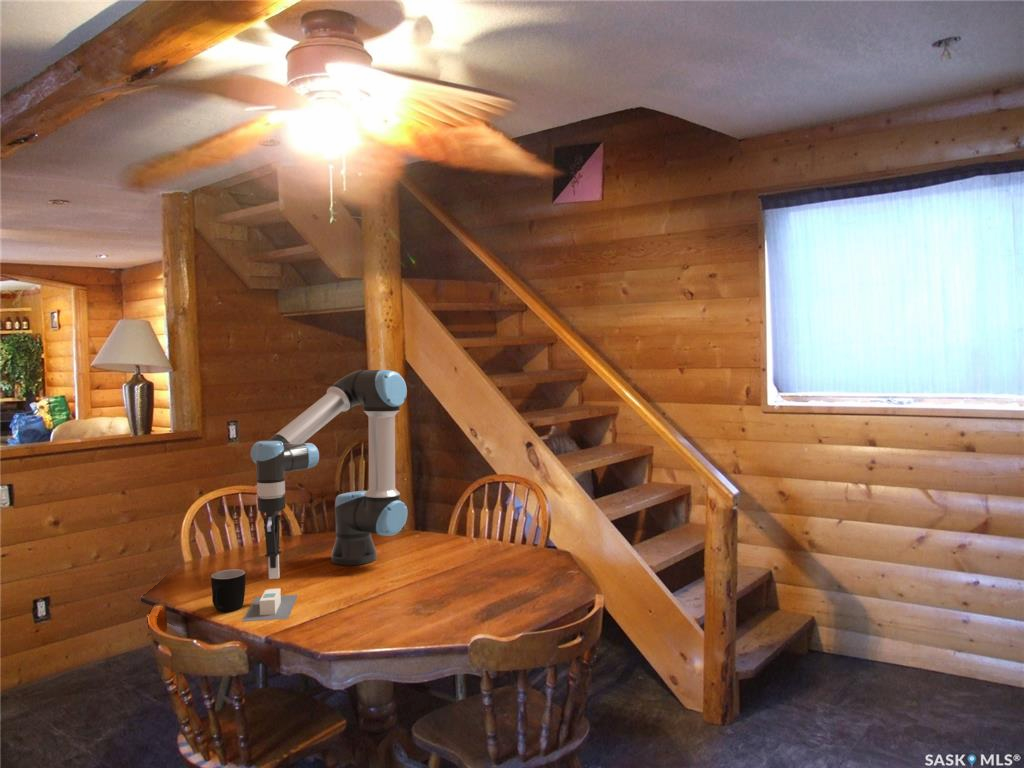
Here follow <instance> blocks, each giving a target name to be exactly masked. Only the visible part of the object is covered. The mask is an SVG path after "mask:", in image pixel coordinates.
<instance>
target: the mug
mask: <svg viewBox="0 0 1024 768" xmlns="http://www.w3.org/2000/svg"><path fill="white" fill-rule="evenodd" d="M210 581H211V582H210V584H211V594H212V595H211V596H212V597H211V598H212V599H211V600H212V602H211V603H212V604H213V606H214V607H215V610H216V611H217V612H218V613H232V612H233V613H234V612H237V611H239V610H241V609H242V608H243V606H244V601H245V594H246V571H245V570H243V569H239V568H238V569H237V568H235V569H224V570H220V571H216V572H214V573H212V574H211V575H210Z"/></svg>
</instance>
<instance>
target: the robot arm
mask: <svg viewBox="0 0 1024 768" xmlns="http://www.w3.org/2000/svg"><path fill="white" fill-rule="evenodd" d="M407 392H408V389H407V385H406V381H405V380H404V378H403V377H402V376H401V374H400V373H399V372H397V371H395V370H394V371H393V370H388V369H358V370H356V371H353V372H351V373H348V374H347V375H345V376H344V377H342V378H340V379H339V380H337V381H336V382H334V383H333V384H332V385H331V386H329V387H328V388H327V390H326V394H324V395H323V396H322V397H321V398H319V399H318V400H317V401H316V402H314V403H313V404H312V405H311V406H309V407H308V408H307V409H306V410H304V411H303V412H302V413H300V414H299V415H298V416H297V417H295V418H294V419H293V420H292V421H290V422H289V423H288V424H287V425H286V426H284V427H283V428H282V429H280V430H279V431H278V432H277V433H275V434H274V435H273V436H271V437H270V438H269V439H267V440H260V441H257V442H255V443H254V444H253V445H252V446H251V448H250V449H251V450H250V459H251V461H252V462H253V463H254V464H255V468H256V469H255V471H256V484H255V485H254V488H255V489H257V490H256V492H257V494H256V495H257V496H258V497H257V499H256V500H257V510H258V512H261V513H265V517H263V524H264V526H263V530H264V536H265V546H266V547H265V549H266V554H265V555H264V557H265V558H267V559H268V560H267V562H268V563H267V564H268V566H267V567H268V579H269V580H275V579H280V554H282V550H280V547H281V546H280V527H281V526H280V522H281V521H280V520H281V515H280V514H279V512H280V511H283V510H285V509H286V496H285V494H286V480H285V473H290V472H296V471H303V470H305V471H306V470H308V469H311V468H314V467H316V465H318V463H319V462H320V461H319V460H320V451H319V449H318V447H317V446H316V445H315V444H314V443H312V442H307V440H309V439H310V438H311V437H312V436H314V435H315V434H316V433H317V432H318V431H320V430H321V429H322V428H324V427H325V426H326V425H327V424H328V423H329V422H331V420H333V419H334V418H335V417H336V416H338V415H339V414H340V413H342V412H343V413H344V412H345V413H346V412H347V411H348V410H350V409H351V408H353V407H356V406H360V405H363V412H364V413H365V414H366V415H367V417H368V418H367V419H368V489H367V490H358V491H357V490H356V491H350V492H344V493H341V494H338V495H337V496H336V497H335V504H334V517H335V518H334V519H335V520H334V521H335V541H334V544H333V548H332V551H331V554H330V556H331V557H330V558H331V560H330V561H331V562H332V563H333V564H335V565H339V566H357V565H358V566H359V565H360V566H361V565H365V564H369V563H372V562H374V561H376V560H377V558H378V557H377V549H376V546H375V544H374V541H373V538H372V534H375V535H378V536H382V537H383V536H386V537H387V536H394V535H397V534H398V533H400V531H402V530H403V527H404V526H405V524H406V522H407V520H408V519H407V518H408V507H407V505H406V504H405V503H404V502H403V501H401V493H400V491H398V489H397V488H396V415H398V413H399V412H400V406H401V405H403V403H405V400H406V398H407V394H408V393H407Z"/></svg>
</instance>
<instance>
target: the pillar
mask: <svg viewBox="0 0 1024 768" xmlns="http://www.w3.org/2000/svg"><path fill="white" fill-rule="evenodd" d="M281 591H282V590H281V588H266V589H265V590H264V592H263V593H262V595H261V596H260V597H261V599H260V615H274V614H276V612H277V610H278V607H279V605H280V603H281V596H282V595H281V594H282V593H281Z"/></svg>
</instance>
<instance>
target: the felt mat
mask: <svg viewBox="0 0 1024 768" xmlns="http://www.w3.org/2000/svg"><path fill="white" fill-rule="evenodd" d="M298 596H299V594H289V595H287V594H285V595H281V603H280V605H279V607H278V610H277V612H276V614H274V615H260V599H261V597H262V596H256V597H254V600H253V601H252V603H251V604H250V606H249V608H248V610H247V612H246V613H245V615H244V616H243V619H242V620H241V622H243V623H244V622H257V621H272V620H273V621H274V620H288V619H289V618H290V615H291V614H292V610H293V609H294V606H295V603H296V601H297V599H298Z"/></svg>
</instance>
